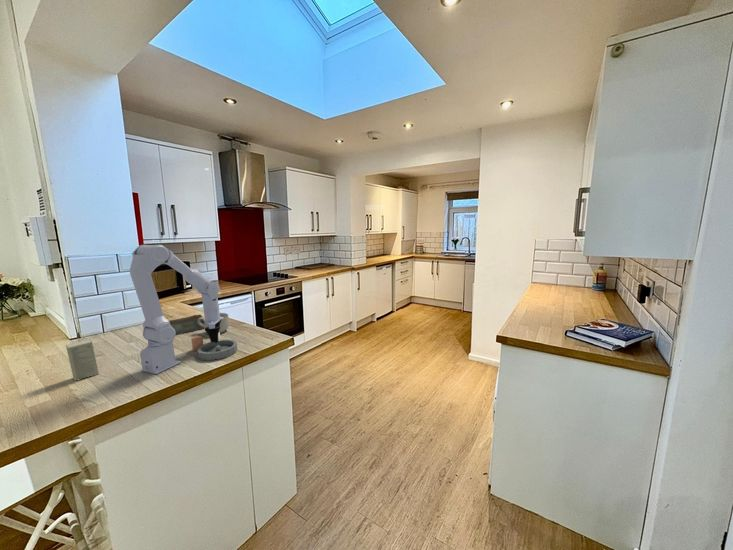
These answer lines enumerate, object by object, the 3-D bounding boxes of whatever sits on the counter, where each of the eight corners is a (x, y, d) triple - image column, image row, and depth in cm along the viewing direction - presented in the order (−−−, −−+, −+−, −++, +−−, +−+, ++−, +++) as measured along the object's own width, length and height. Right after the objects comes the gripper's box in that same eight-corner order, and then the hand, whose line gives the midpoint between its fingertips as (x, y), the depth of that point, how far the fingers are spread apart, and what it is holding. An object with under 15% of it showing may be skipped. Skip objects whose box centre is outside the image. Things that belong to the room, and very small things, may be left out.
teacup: (234, 328, 146) (232, 312, 145) (221, 336, 135) (219, 319, 134) (208, 327, 147) (206, 312, 146) (193, 335, 137) (191, 319, 136)
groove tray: (217, 362, 108) (216, 355, 108) (189, 357, 113) (189, 350, 113) (245, 348, 121) (244, 341, 121) (219, 344, 126) (218, 337, 126)
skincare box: (96, 370, 104) (90, 338, 102) (99, 374, 102) (92, 341, 100) (72, 378, 100) (65, 344, 98) (74, 382, 97) (66, 347, 95)
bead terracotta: (197, 352, 118) (196, 340, 118) (190, 350, 120) (189, 339, 119) (206, 348, 122) (204, 336, 121) (199, 346, 124) (197, 335, 123)
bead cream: (215, 347, 123) (214, 335, 122) (208, 346, 124) (207, 334, 123) (223, 343, 127) (221, 332, 126) (216, 342, 128) (214, 331, 127)
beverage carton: (157, 334, 141) (156, 321, 140) (202, 325, 153) (201, 313, 152) (159, 338, 135) (157, 325, 134) (206, 329, 147) (204, 316, 146)
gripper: (221, 312, 118) (225, 343, 120) (222, 303, 131) (226, 332, 133) (201, 314, 115) (206, 347, 118) (204, 305, 128) (208, 335, 131)
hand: (215, 339), depth 125 cm, fingers open, 7 cm apart
